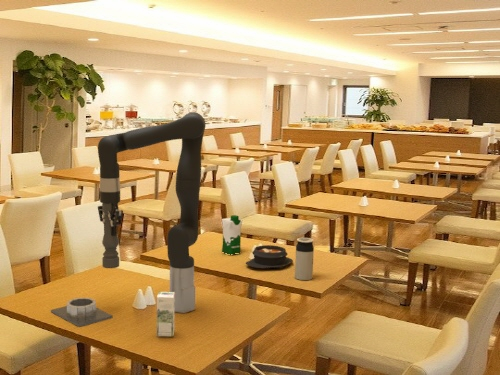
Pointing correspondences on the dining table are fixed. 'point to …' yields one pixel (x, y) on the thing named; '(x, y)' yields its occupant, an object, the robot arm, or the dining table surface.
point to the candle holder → (109, 241)
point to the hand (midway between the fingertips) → (110, 234)
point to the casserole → (269, 257)
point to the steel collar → (81, 312)
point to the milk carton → (231, 235)
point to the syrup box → (165, 314)
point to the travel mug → (304, 259)
